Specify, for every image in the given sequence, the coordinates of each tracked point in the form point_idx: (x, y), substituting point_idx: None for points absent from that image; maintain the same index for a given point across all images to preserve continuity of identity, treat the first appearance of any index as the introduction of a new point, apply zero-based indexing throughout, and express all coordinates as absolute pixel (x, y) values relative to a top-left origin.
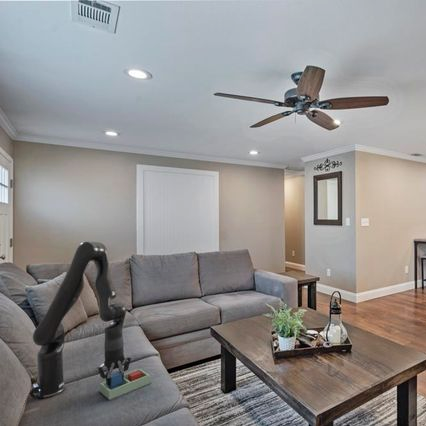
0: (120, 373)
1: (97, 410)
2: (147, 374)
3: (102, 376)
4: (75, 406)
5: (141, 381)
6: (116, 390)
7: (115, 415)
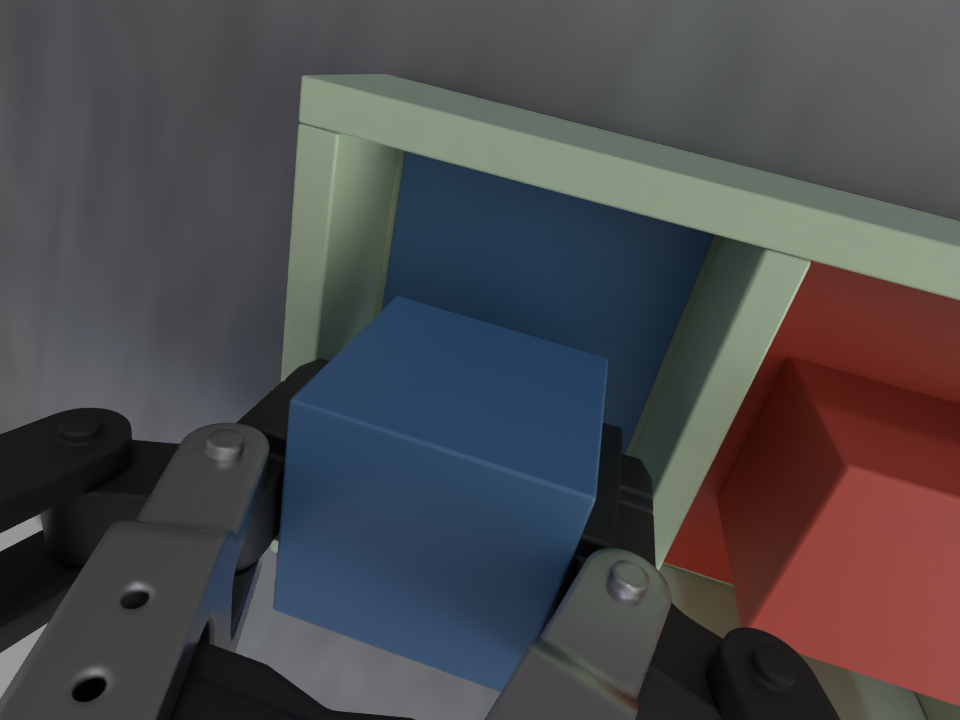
0: (511, 659)
1: None
2: None
3: (18, 575)
4: (16, 143)
5: None
6: None
7: None
